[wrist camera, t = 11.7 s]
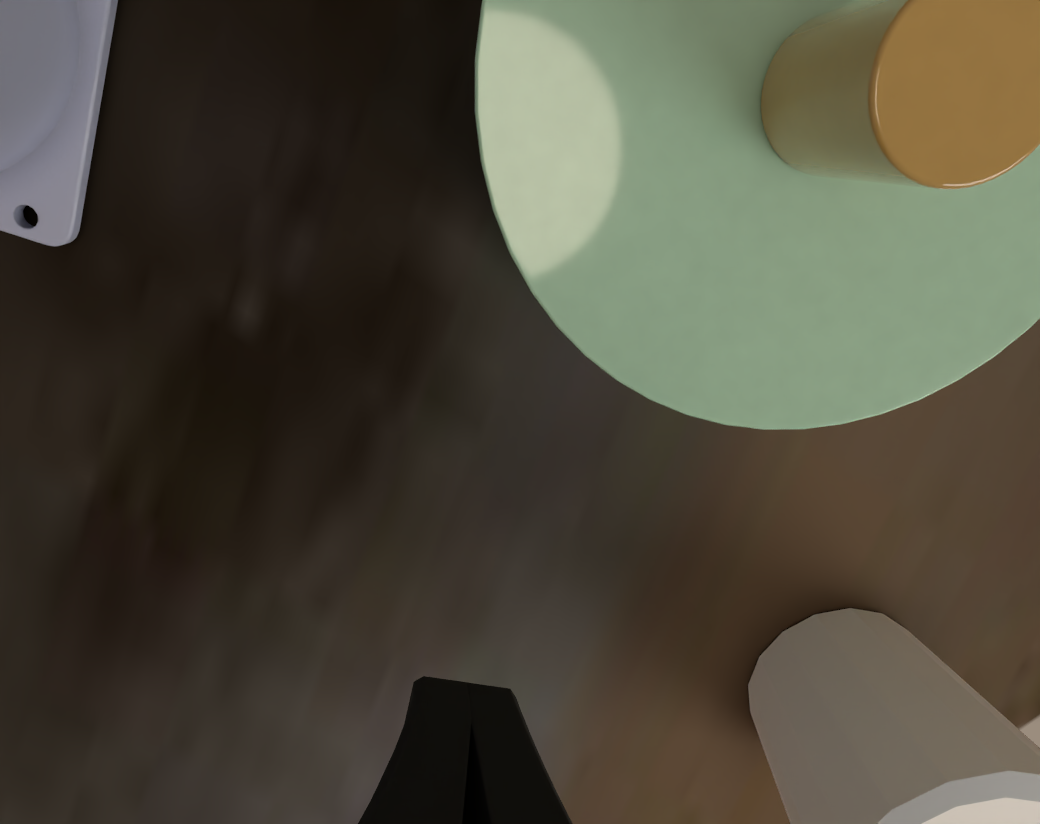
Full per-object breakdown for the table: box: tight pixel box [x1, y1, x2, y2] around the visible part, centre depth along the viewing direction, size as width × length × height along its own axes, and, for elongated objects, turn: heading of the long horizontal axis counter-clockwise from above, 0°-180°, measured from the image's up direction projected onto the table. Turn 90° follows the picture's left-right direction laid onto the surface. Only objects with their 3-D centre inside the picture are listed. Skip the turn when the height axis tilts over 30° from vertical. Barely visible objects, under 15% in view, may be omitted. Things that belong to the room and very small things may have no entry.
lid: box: [474, 0, 1040, 429], centre depth 10 cm, size 11×11×4 cm
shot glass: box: [748, 608, 1040, 824], centre depth 20 cm, size 7×7×7 cm
